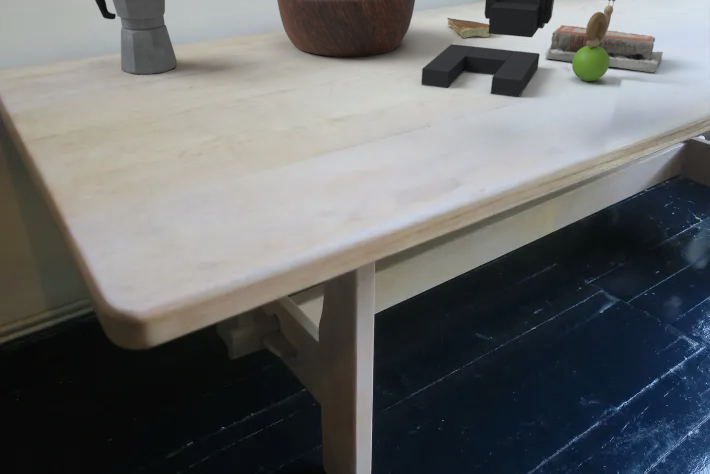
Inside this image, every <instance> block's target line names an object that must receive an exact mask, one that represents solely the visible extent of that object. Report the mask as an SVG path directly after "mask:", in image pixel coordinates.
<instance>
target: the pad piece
mask: <svg viewBox="0 0 710 474" xmlns="http://www.w3.org/2000/svg"><path fill="white" fill-rule="evenodd" d="M539 2H540V0H499V1H497V2H496V3H495V4H494V5H493V6H492V7H491V12H490V23H489V22H488V24H489V34H490V35H500V36H509V37H521V38H522V37H524V38H531V39H532V38H533V37H534V35H535V34H536V32H537V31H539V28H537V22H538V14H539V7H540V5H539Z"/></svg>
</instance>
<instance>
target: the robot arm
mask: <svg viewBox="0 0 710 474" xmlns="http://www.w3.org/2000/svg"><path fill="white" fill-rule="evenodd" d="M497 1H499V0H485V4H484V17H485V19H487V20H488V24H489V23H490V12H491V7H492V6H493V5H494V4H495V3H496V2H497ZM554 4H555V0H540V2H539V5H540V7H539V14H538V22H537V28H538V29H544V27H545V26H546V25H547V24H549V23H550V21H551V20H552V17H553V11H554Z"/></svg>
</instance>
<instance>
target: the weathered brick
mask: <svg viewBox="0 0 710 474" xmlns="http://www.w3.org/2000/svg"><path fill="white" fill-rule="evenodd" d="M586 28H587V27H583V26H575V25H563V24H562V25H560V26H559V27H557V29H556V30H554V31H553V32H552V34H551V35H552V36H551V43H550V47H549V48H548V49H547V50H546V52H545V59H549V60H556V61H562V62H568V63H569V62H570V63H572V62H573V58H574V56H575V54H576V53H577V52H578V51H579V50H580V49H581V48H583V47H585V46H587V44H586V42H587V41H588V39H587V37H586ZM655 41H656V37H655V36H653V35H645V34H637V33H632V32H629V33H628V32H624V31H623V32H621V31H616V30H615V31H614V30H607V32H606V35H605V37H604V39H603V40H602V42H601V43H600V44H599V45H598V46H600V47H602V48H603V49H604V50H605V51H606V52H607V54H608V56H609V67H608V68H610V67H612V68H620V69H625V70H626V69H627V70H634V71H641V72H647V73H655V71H656V70H657V68H658V66H659V64H660V62H661V61H662V59H663V54H664V53H663V52H664V51H653V50H654V46H655V44H654V43H655Z"/></svg>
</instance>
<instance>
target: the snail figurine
mask: <svg viewBox="0 0 710 474" xmlns="http://www.w3.org/2000/svg"><path fill="white" fill-rule="evenodd" d="M607 1H608V5H606V6H605V7H604V9H603V12H601V11H597V12H595V13H593V14H592V16H590V18H589V20H588V22H587V24H586V27H585V28H586V37H587V39H588V41H587V42H586V44H587V46H585V47H583V48H581V49H580V50H579V51H578V52H577V53H576V54H575V56H574V58H573V62H571V66H572V71H573V73H574V74H575V76H576V77H577V78H578V79H580V80H583V81H585V82H593V81H597V80H599V79H600V78H602V77H603V76H604V75H605V74H606V73H607V71H608V69H609V68H610V67H609V56H608V54H607V52H606V51H605V50H604V49H603V48H602V47H600V46H598V45H599V44H600V43H601V42H602V40H603V39H604V37H605V35H606V32H607V31H609V30H608V29H609V26H610V23H611V18H612V14H613V12H614V3H615V2H616V0H607ZM611 1H612V5H610V2H611Z"/></svg>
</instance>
